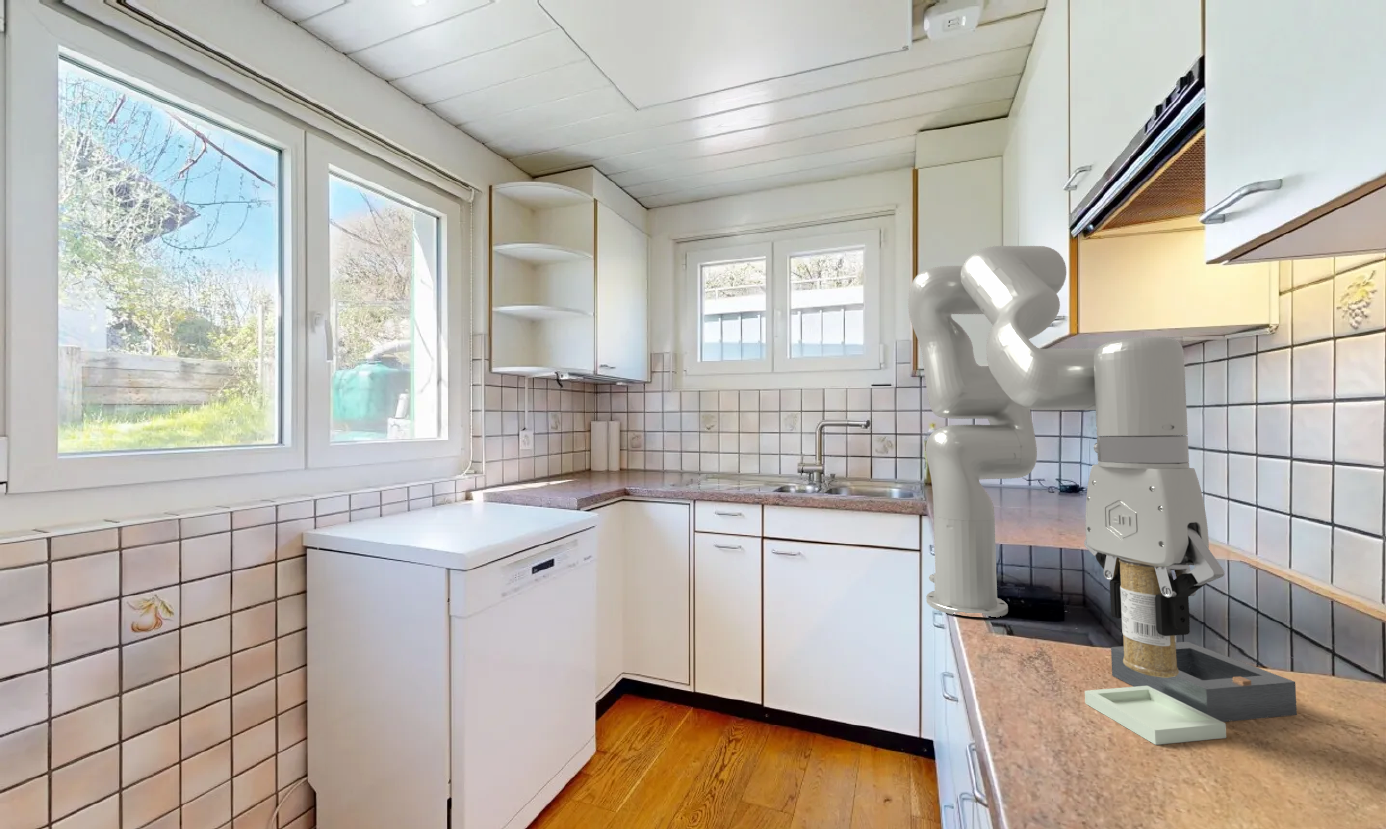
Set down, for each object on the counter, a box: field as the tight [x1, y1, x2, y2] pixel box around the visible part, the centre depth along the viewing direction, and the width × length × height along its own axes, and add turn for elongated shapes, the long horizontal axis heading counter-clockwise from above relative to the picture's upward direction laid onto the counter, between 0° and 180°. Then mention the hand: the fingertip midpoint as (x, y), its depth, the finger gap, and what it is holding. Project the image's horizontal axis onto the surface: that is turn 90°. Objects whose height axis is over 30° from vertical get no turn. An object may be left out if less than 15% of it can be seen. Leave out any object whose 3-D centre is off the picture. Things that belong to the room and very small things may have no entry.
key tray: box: [1084, 686, 1227, 745], centre depth 56 cm, size 8×8×1 cm
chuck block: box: [1110, 641, 1298, 723], centre depth 62 cm, size 11×11×4 cm
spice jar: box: [1119, 558, 1179, 678], centre depth 57 cm, size 5×5×14 cm
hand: (1148, 623), depth 57 cm, fingers closed on spice jar, 4 cm apart
